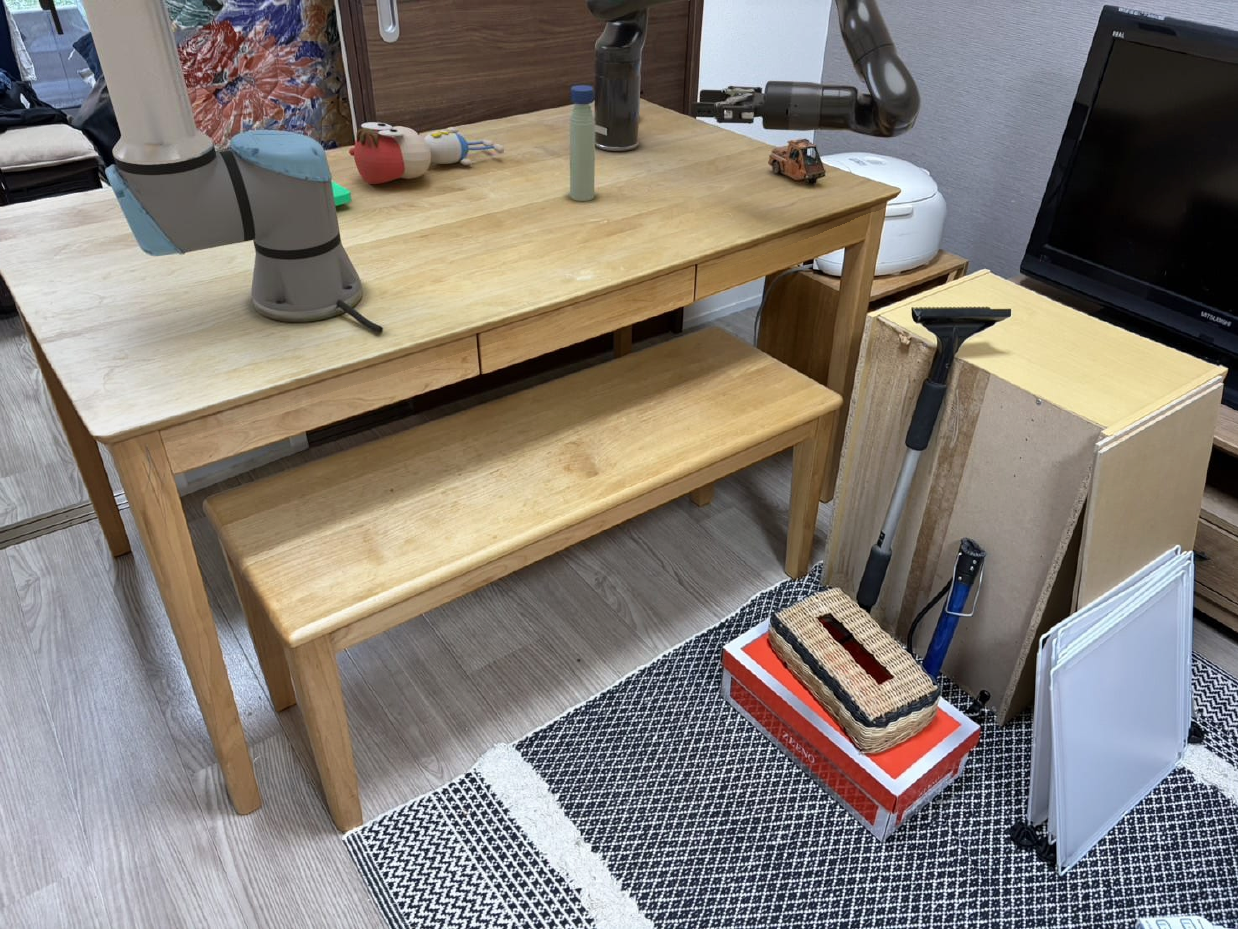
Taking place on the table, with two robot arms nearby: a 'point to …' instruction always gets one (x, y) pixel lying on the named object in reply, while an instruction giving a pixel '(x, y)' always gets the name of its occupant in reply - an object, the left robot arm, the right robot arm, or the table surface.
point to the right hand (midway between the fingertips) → (695, 102)
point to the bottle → (582, 153)
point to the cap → (582, 94)
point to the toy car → (797, 161)
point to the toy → (408, 151)
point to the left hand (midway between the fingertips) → (108, 29)
